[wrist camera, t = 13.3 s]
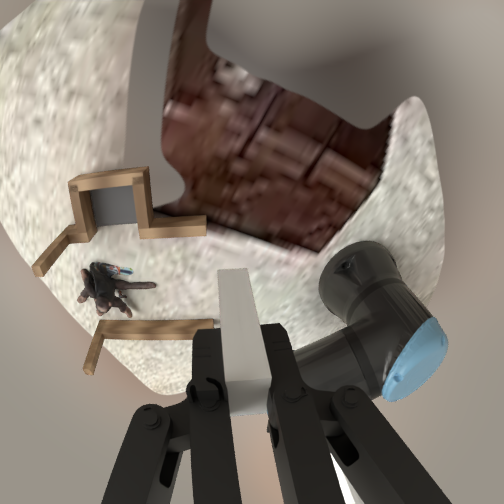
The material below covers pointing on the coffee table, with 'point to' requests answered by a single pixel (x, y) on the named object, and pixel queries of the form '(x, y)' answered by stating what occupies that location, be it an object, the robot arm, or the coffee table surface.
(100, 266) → the stuffed animal
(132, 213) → the mat
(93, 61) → the coffee table surface
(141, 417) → the robot arm
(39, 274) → the wooden rail pieces
